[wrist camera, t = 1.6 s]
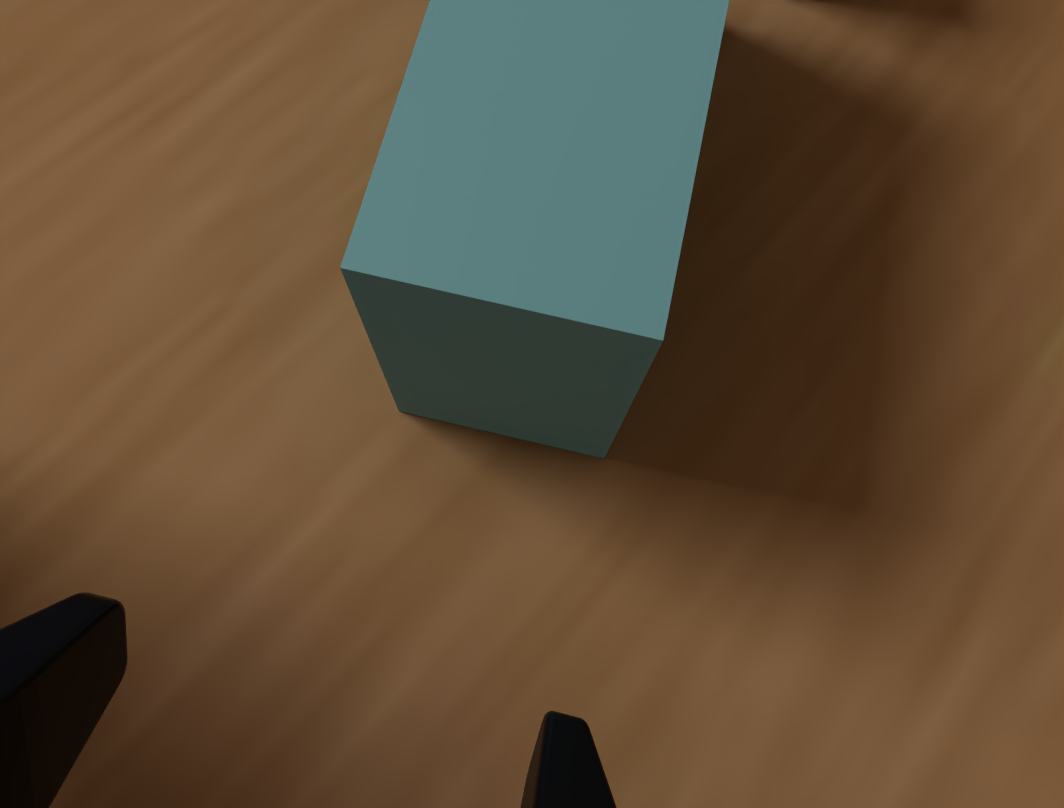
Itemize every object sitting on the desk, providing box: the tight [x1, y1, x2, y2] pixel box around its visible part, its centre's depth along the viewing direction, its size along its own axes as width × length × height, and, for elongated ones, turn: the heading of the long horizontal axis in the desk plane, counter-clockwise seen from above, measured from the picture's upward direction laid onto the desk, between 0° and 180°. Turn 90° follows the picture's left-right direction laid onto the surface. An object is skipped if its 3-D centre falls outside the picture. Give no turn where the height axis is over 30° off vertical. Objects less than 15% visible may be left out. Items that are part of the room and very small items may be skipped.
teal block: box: [340, 0, 729, 458], centre depth 21 cm, size 16×6×9 cm, turn 167°
